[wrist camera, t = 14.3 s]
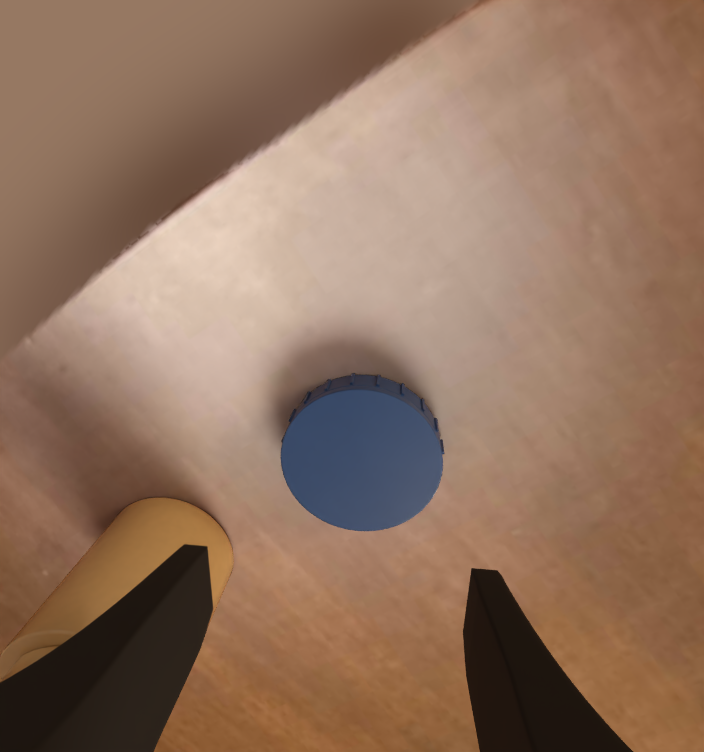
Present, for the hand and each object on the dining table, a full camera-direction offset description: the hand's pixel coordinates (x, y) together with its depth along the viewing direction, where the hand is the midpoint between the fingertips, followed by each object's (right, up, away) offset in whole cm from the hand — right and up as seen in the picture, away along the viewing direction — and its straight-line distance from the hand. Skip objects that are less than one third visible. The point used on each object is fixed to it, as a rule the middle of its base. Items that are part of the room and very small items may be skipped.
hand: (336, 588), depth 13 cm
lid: (+1, +2, +6) cm, 7 cm away
